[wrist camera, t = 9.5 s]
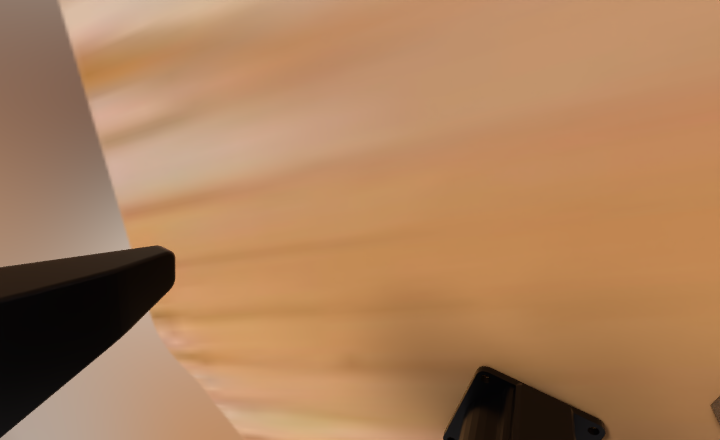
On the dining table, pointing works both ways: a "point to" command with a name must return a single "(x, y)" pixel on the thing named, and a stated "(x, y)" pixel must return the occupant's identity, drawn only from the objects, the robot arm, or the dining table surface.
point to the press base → (716, 409)
